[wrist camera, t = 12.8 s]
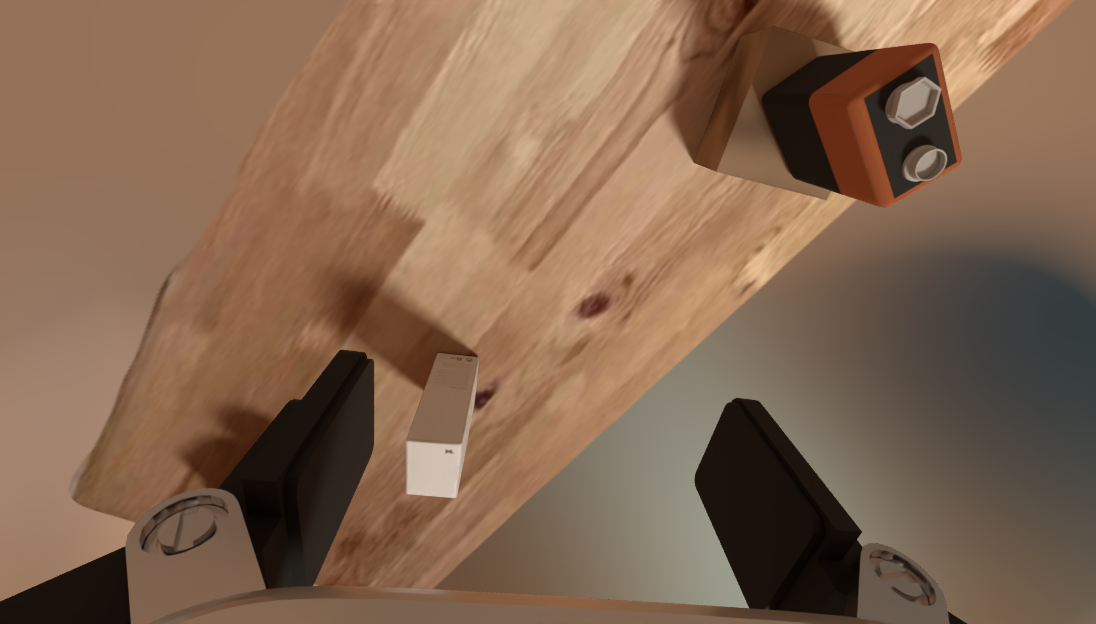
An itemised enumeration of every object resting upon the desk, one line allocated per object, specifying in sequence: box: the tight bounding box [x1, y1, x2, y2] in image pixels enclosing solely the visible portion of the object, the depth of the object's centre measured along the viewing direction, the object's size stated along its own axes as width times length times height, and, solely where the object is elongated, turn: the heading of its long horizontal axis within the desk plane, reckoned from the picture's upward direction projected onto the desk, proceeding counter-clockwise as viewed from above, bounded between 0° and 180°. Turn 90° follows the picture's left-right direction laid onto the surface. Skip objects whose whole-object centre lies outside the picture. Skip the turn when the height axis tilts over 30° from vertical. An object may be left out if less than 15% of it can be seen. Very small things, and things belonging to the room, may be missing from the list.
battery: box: [762, 43, 962, 207], centre depth 25 cm, size 4×7×10 cm, turn 35°
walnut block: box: [694, 26, 854, 200], centre depth 31 cm, size 9×9×5 cm
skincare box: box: [406, 353, 479, 498], centre depth 38 cm, size 6×4×12 cm
